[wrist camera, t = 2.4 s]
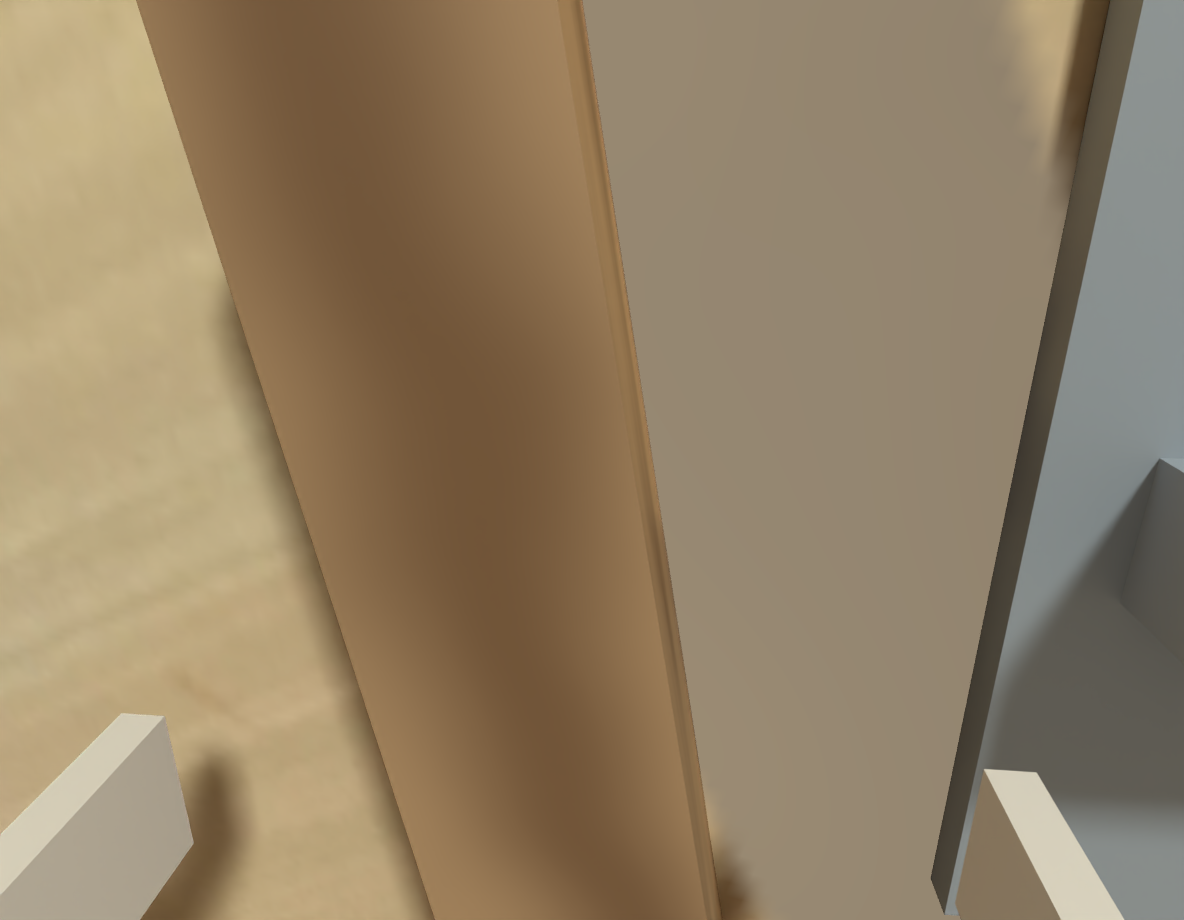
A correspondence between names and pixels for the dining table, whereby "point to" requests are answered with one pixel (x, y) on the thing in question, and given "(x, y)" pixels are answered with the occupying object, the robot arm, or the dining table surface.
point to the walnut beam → (461, 426)
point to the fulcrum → (1099, 506)
